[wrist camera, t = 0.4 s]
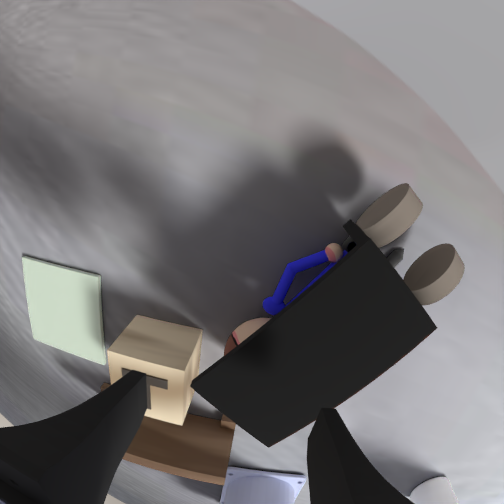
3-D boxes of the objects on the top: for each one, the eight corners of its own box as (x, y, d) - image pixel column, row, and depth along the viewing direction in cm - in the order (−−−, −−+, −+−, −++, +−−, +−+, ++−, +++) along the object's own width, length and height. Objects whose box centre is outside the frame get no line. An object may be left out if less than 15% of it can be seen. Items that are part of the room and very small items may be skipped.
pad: (106, 362, 24) (104, 365, 24) (35, 336, 24) (33, 338, 24) (100, 275, 22) (98, 277, 21) (25, 255, 22) (22, 257, 22)
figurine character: (366, 173, 20) (202, 329, 22) (423, 170, 12) (181, 395, 14) (424, 247, 21) (270, 386, 23) (490, 276, 13) (276, 460, 15)
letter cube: (198, 381, 24) (181, 426, 19) (138, 366, 24) (113, 407, 19) (202, 328, 22) (183, 372, 17) (137, 314, 22) (106, 351, 18)
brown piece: (232, 437, 25) (222, 490, 20) (107, 405, 26) (80, 448, 20) (237, 416, 24) (226, 472, 19) (104, 382, 25) (73, 426, 19)
